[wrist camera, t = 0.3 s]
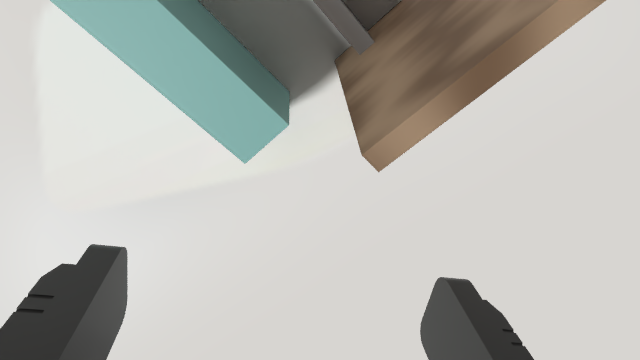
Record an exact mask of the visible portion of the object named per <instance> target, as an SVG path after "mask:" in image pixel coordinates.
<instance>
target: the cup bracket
mask: <svg viewBox="0 0 640 360" xmlns="http://www.w3.org/2000/svg"><path fill="white" fill-rule="evenodd" d="M313 1H314V2H315V3H316V4H317V6H318V7H319V8H320V9H321V10H322V11H323V13H324V14H325V15H326V16H327V17H328V18H329V20H330V21H331V22H332V23H333V24H334V26H335V27H336V28H337V29H338V30H339V31H340V33H341V34H342V35H343V36H344V37H345V38H346V40H347V41H348V42H349V43H350V44H351V45H352V46H351V47H349V48H348V49H347V50H346V51H345V52H344V53H343V54H342V55H341V56H339V57H338V58H337V59H336V60H335V64H336V67H337V71H338V74H339V78H340V81H341V85H342V88H343V91H344V95H345V98H346V102H347V105H348V109H349V112H350V116H351V119H352V123H353V126H354V130H355V133H356V137H357V140H358V144H359V147H360V150H361V154H362V156H363V157H364V158H365V159H366V160H367V161H368V162H369V163H370V164H371V165H372V166H373V167H374V168H375V169H376V170H377V171H378V172H379V171H381V170H382V169H383V168H385V167H386V166H388V165H389V164H390V163H391V162H393V161H394V160H395V159H397V158H398V157H399V156H401V155H402V154H403V153H405V152H406V151H407V150H409V149H410V148H411V147H413V146H414V145H415V144H417V143H418V142H419V141H421V140H422V139H423V138H425V137H426V136H427V135H428V134H430V133H431V132H432V131H434V130H435V129H436V128H438V127H439V126H440V125H442V124H443V123H444V122H446V121H447V120H448V119H450V118H451V117H452V116H454V115H455V114H456V113H458V112H459V111H460V110H461V109H463V108H464V107H466V106H467V105H468V104H470V103H471V102H472V101H473V100H475V99H476V98H477V97H479V96H480V95H481V94H483V93H484V92H485V91H487V90H488V89H489V88H491V87H492V86H493V85H495V84H496V83H497V82H499V81H500V80H501V79H502V78H504V77H505V76H507V75H508V74H509V73H511V72H512V71H513V70H515V69H516V68H517V67H518V66H519V65H521V64H522V63H524V62H525V61H526V60H528V59H529V58H530V57H532V56H533V55H534V54H536V53H537V52H538V51H540V50H541V49H542V48H544V47H545V46H546V45H547V44H549V43H550V42H552V41H553V40H554V39H556V38H557V37H558V36H559V35H561V34H562V33H563V32H565V31H566V30H567V29H569V28H570V27H571V26H573V25H574V24H575V23H577V22H578V21H579V20H581V19H582V18H583V17H585V16H586V15H587V14H589V13H590V12H591V11H593V10H594V9H595V8H597V7H598V6H599V5H600V4H602V3H603V2H604V1H606V0H402V1H401V2H399V3H398V4H397V5H396V6H395V7H394V8H393V9H392V10H391V11H389V12H388V13H387V14H386V15H385V16H384V17H383V18H382V19H381V20H379V21H378V22H377V23H376V24H375V25H374V26H373V27H372V28H371V29H369V30H368V31H367V30H366V29H365V28H364V26H363V25H362V24H361V23H360V21H359V20H358V19H357V18H356V16H355V15H354V14H353V13H352V12H351V10H350V9H349V8H348V7H347V5H346V4H345V3H344V2H343V1H342V0H313Z"/></svg>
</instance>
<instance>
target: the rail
mask: <svg viewBox="0 0 640 360" xmlns="http://www.w3.org/2000/svg"><path fill="white" fill-rule="evenodd" d="M50 1H51V2H52V3H54V4H55V5H56V6H57V7H58V8H60V9H61V10H62V11H63V12H64V13H66V14H67V15H68V16H69V17H70V18H72V19H73V20H74V21H75V22H76V23H78V24H79V25H80V26H81V27H82V28H84V29H85V30H86V31H87V32H88V33H89V34H91V35H92V36H93V37H94V38H95V39H97V40H98V41H99V42H100V43H101V44H103V45H104V46H105V47H106V48H107V49H109V50H110V51H111V52H112V53H113V54H115V55H116V56H117V57H118V58H119V59H120V60H122V61H123V62H124V63H125V64H126V65H128V66H129V67H130V68H131V69H132V70H134V71H135V72H136V73H137V74H138V75H140V76H141V77H142V78H143V79H144V80H146V81H147V82H148V83H149V84H150V85H151V86H153V87H154V88H155V89H156V90H157V91H159V92H160V93H161V94H162V95H163V96H165V97H166V98H167V99H168V100H169V101H171V102H172V103H173V104H174V105H175V106H177V107H178V108H179V109H180V110H181V111H183V112H184V113H185V114H186V115H187V116H188V117H190V118H191V119H192V120H193V121H194V122H196V123H197V124H198V125H199V126H200V127H202V128H203V129H204V130H205V131H206V132H208V133H209V134H210V135H211V136H212V137H214V138H215V139H216V140H217V141H218V142H219V143H221V144H222V145H223V146H224V147H225V148H227V149H228V150H229V151H230V152H231V153H233V154H234V155H235V156H236V157H237V158H239V159H240V160H241V161H242V162H243V163H247V162H248V161H249V160H250V159H251V158H252V157H253V156H255V155H256V154H257V153H258V152H259V151H260V150H261V149H262V148H264V147H265V146H266V145H267V144H268V143H269V142H270V141H271V140H273V139H274V138H275V137H276V136H277V135H278V134H279V133H281V132H282V131H283V130H284V129H285V128H286V127H287V126H288V125H289V96H290V92H289V91H288V90H287V89H286V88H285V87H284V86H283V85H282V84H281V83H280V82H279V81H278V80H277V79H276V78H275V77H274V76H273V75H272V74H271V73H270V72H269V71H268V70H267V69H266V68H265V67H264V66H263V65H262V64H261V63H260V62H259V61H258V60H257V59H256V58H255V57H254V56H253V55H252V54H251V53H250V52H249V51H248V50H247V49H246V48H245V47H244V46H243V45H242V44H241V43H240V42H239V41H238V40H237V39H236V38H235V37H234V36H233V35H232V34H231V33H230V32H229V31H228V30H227V29H226V28H225V27H224V26H223V25H222V24H221V23H220V22H219V21H218V20H217V19H216V18H215V17H214V16H213V15H212V14H211V13H210V12H209V11H207V10H206V9H205V8H204V7H203V6H202V5H201V4H200V3H199V2H198V1H197V0H50Z"/></svg>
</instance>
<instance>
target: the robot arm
mask: <svg viewBox="0 0 640 360" xmlns="http://www.w3.org/2000/svg"><path fill="white" fill-rule="evenodd" d="M126 305H127V250H126V248H125V247H116V246H105V245H95V244H92V245H90V246H89V247H88V248H87V250H86V252H85V253H84V254H83V256H82V257H81V259H80V260H79V261H78V263H77V264H76V265H73V264H61V265H59V266H58V267H56V268H55V269H53V270H52V271H50V272H48V273H47V274H45V275H44V276H42V277H41V278H40V279H39V281H38V282H37V283H36V285H35V286H34V287H33V288H32V290H31V291H30V292H29V293H28V297H25V298H24V300H23V301H22V302H21V304H20V305H19V306H18V307H17V311H16V312H13V314H12V315H11V316H10V318H9V319H8V320H7V321H6V323H5V324H4V325H3V327H2V328H1V329H0V360H106V359H107V356H108V354H109V352H110V349H111V347H112V345H113V343H114V340H115V338H116V336H117V334H118V332H119V329H120V327H121V325H122V322H123V319H124V315H125V311H126ZM420 332H421V341H422V344H423V347H424V349H425V352H426V354H427V357H428V359H429V360H534V359H533V357H532V356H531V354H530V353H529V352H528V350H527V349H526V347H525V346H522V342H521V340H520V339H519V337H518V336H517V335H516V333H514V332H513V328H512V327H511V326H510V324H509V323H508V321H507V320H506V318H505V317H504V316H503V314H502V313H501V312H499V311H498V310H497V309H496V308H495V307H494V306H492V305H491V304H490V303H489V302H488V301H487V300H482V298H481V297H480V295H479V294H478V292H477V291H476V289H475V288H474V286H473V285H472V283H471V282H470V281H469V280H466V279H455V278H444V277H440V278H438V280H437V281H436V283H435V285H434V288H433V291H432V294H431V296H430V299H429V302H428V305H427V307H426V310H425V313H424V316H423V318H422V322H421V330H420Z"/></svg>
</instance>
